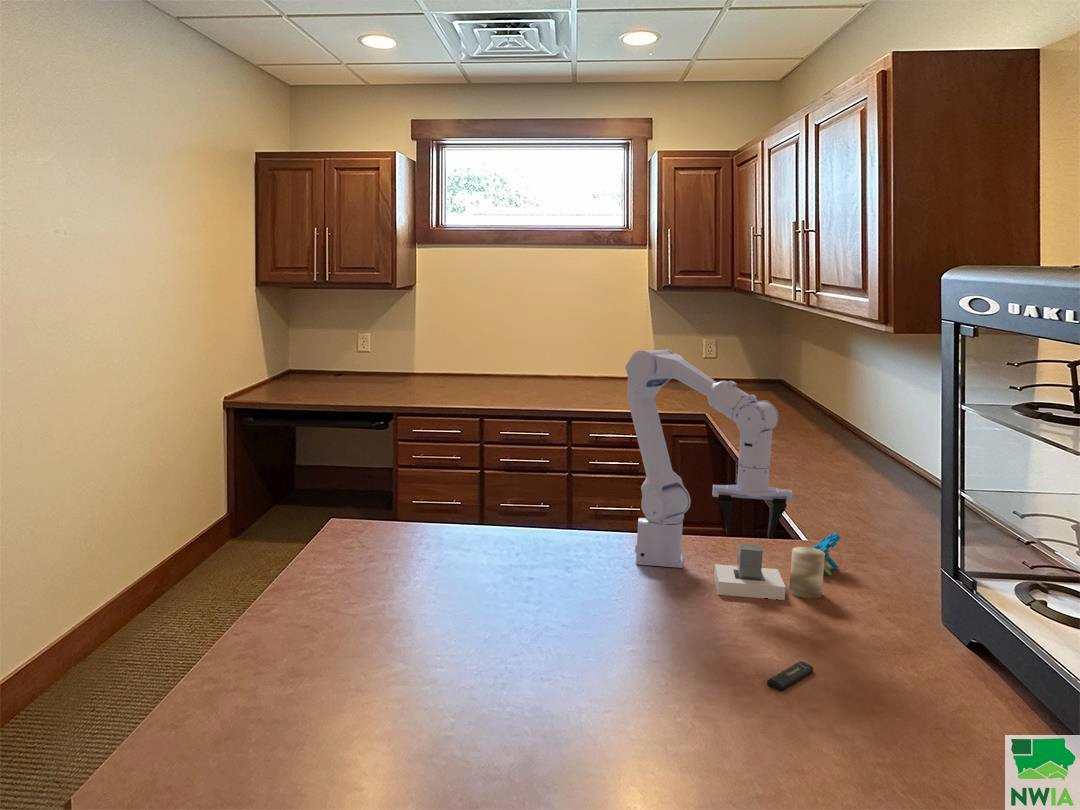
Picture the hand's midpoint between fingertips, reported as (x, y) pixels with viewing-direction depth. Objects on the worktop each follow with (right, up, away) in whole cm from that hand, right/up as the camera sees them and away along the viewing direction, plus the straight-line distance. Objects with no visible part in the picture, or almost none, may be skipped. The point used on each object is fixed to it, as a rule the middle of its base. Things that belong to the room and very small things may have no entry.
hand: (749, 535), depth 149 cm
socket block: (0, -10, 0) cm, 10 cm away
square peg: (0, -10, 0) cm, 10 cm away
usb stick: (-4, -15, -36) cm, 39 cm away
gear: (+18, -9, +13) cm, 24 cm away
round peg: (+10, -11, -2) cm, 15 cm away
